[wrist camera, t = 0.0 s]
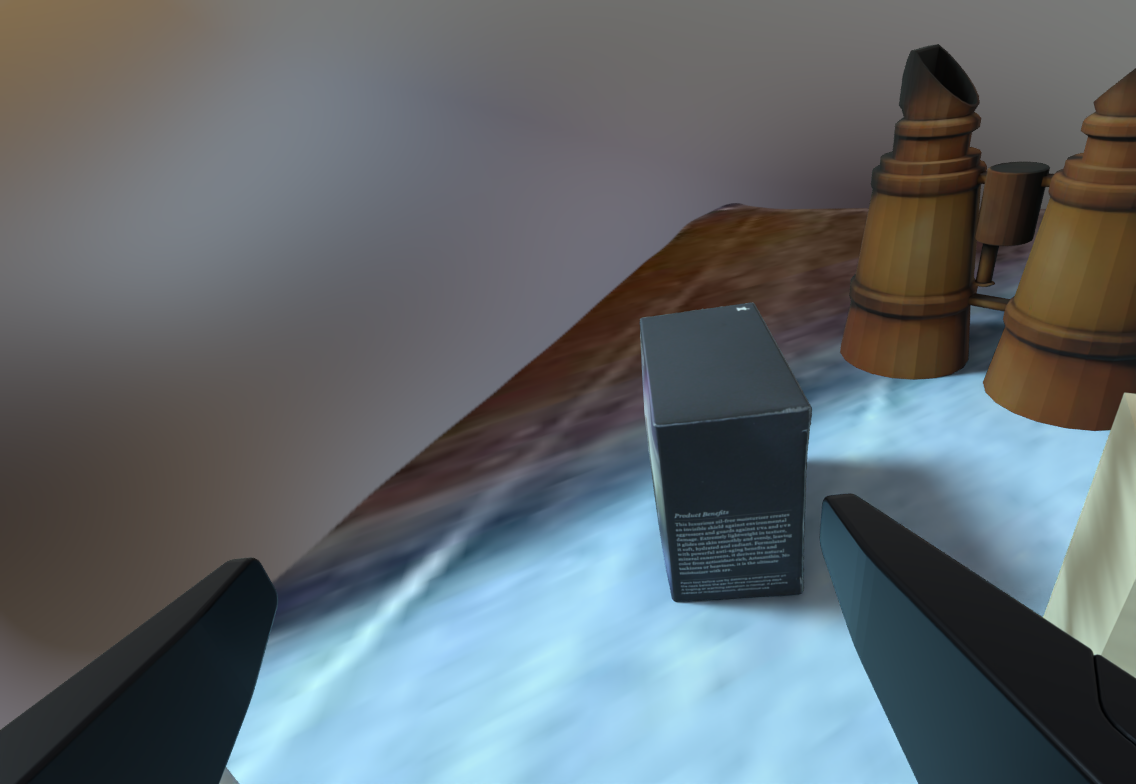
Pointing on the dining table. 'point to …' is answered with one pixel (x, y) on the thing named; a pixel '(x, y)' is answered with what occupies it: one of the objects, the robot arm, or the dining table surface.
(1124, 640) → the maple block
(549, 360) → the dining table surface
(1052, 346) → the binoculars
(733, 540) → the small box
